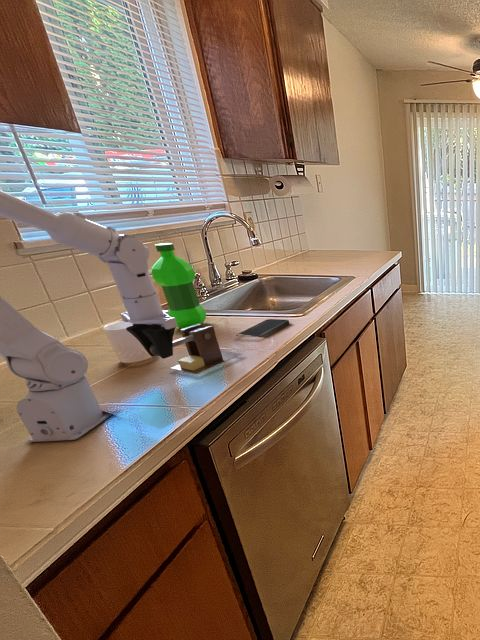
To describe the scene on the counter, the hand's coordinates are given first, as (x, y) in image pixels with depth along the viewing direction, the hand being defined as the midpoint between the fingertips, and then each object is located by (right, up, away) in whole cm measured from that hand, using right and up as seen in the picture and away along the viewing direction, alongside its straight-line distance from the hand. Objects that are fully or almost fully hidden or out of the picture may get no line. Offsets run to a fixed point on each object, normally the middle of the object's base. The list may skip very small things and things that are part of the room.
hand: (162, 355), depth 87 cm
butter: (+2, -2, +7) cm, 8 cm away
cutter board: (+3, -2, +10) cm, 11 cm away
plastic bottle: (-21, +9, +37) cm, 44 cm away
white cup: (-16, -2, +13) cm, 21 cm away
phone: (+5, +8, +32) cm, 33 cm away
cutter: (+2, +2, +4) cm, 4 cm away
